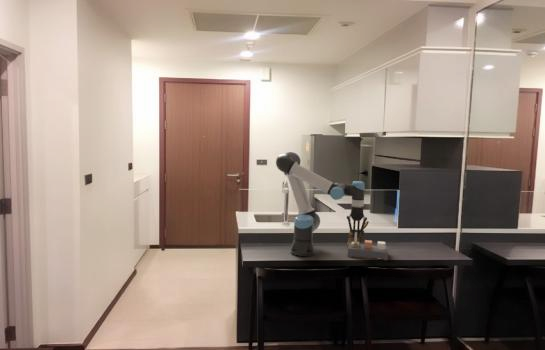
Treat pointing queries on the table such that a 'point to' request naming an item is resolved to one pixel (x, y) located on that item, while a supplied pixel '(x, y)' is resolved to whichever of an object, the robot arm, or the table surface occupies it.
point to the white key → (381, 245)
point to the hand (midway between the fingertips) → (355, 242)
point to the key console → (367, 252)
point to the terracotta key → (368, 244)
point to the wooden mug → (359, 234)
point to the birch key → (355, 244)
